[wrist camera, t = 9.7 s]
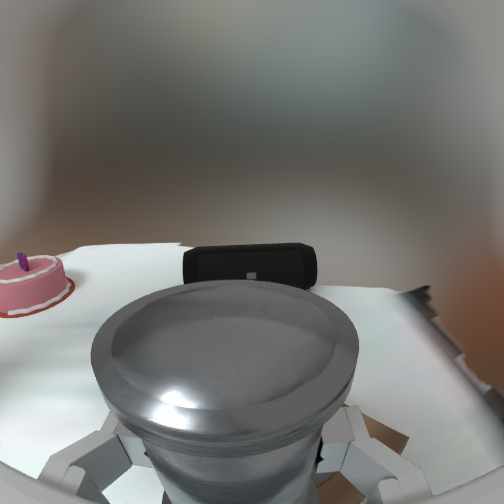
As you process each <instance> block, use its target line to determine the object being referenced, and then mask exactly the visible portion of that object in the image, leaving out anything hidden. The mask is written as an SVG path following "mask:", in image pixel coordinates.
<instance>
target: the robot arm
mask: <svg viewBox="0 0 504 504" xmlns="http://www.w3.org/2000/svg"><path fill="white" fill-rule="evenodd" d="M132 465H137V466H143V467H150V468H154V467H153V465H152V463H151V461H150V458H149V456H148V454H147V452H146V449H145V447H144V445H143V443H142V440H141V438H140V437H138V436H137V435H135V434H134V433H132V432H131V431H130V430H128V429H127V428H126V427H125V426H123V425H122V424H121V423H120V422H119V421H118V419H117V418H116V417H115V416H114V415H113V414H112V412H111V411H110V412H109V414H108V416H107V418H106V420H105V422H104V424H103V426H102V428H101V430H100V431H97V430H96V431H95V432H93V433H91V434H89V435H88V436H86V437H84V438H82V439H81V440H79V441H77V442H75V443H73V444H72V445H70V446H68V447H66V448H64V449H63V450H61V451H59V452H57V453H55V454H53V455H51V456H50V458H49V459H48V461H47V463H46V465H45V466H44V468H43V470H42V472H41V474H40V475H39V477H38V479H35V478H33V477H31V476H28V475H26V474H24V473H22V472H20V471H18V470H16V469H15V468H13V467H11V466H9V465H7V464H5V463H3V462H2V461H0V504H110V503H109V501H108V500H107V499H106V497H105V496H104V495H103V494H102V491H103V490H104V489H105V488H107V487H108V486H109V485H110V484H112V483H113V482H114V481H115V480H116V479H118V478H119V477H120V476H121V475H122V474H123V473H125V472H126V471H127V470H128V469H129V468H130V467H132ZM315 469H316V473H325V472H335V471H340V472H341V473H342V474H343V475H344V476H345V477H346V478H347V479H348V480H349V481H350V482H351V483H352V484H353V485H354V486H355V487H356V488H357V489H358V490H359V491H360V492H361V493H362V494H363V495H364V496H365V497H366V498H367V499H368V501H367V503H366V504H504V465H502V466H500V467H499V468H497V469H495V470H493V471H491V472H489V473H487V474H485V475H483V476H481V477H479V478H476V479H474V480H472V481H470V482H468V483H465V484H463V485H461V486H458V487H456V488H454V489H451V490H449V491H446V492H444V493H441V494H438V495H435V496H433V495H432V492H431V490H430V488H429V485H428V483H427V480H426V478H425V475H424V473H423V471H422V469H421V468H419V467H418V466H416V465H414V464H413V463H411V462H410V461H408V460H407V459H405V458H404V457H402V456H401V455H399V454H397V453H396V452H394V451H393V450H391V449H390V448H389V447H387V446H386V445H384V444H383V443H381V442H380V441H378V440H377V439H375V438H370V436H369V433H368V430H367V427H366V425H365V422H364V419H363V416H362V414H361V411H360V408H359V407H358V406H349V407H340V408H339V410H338V411H337V412H336V414H335V415H334V416H333V417H332V418H330V419H329V420H328V421H327V422H326V423H325V424H324V425H323V429H322V434H321V438H320V443H319V447H318V452H317V456H316V460H315Z"/></svg>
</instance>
